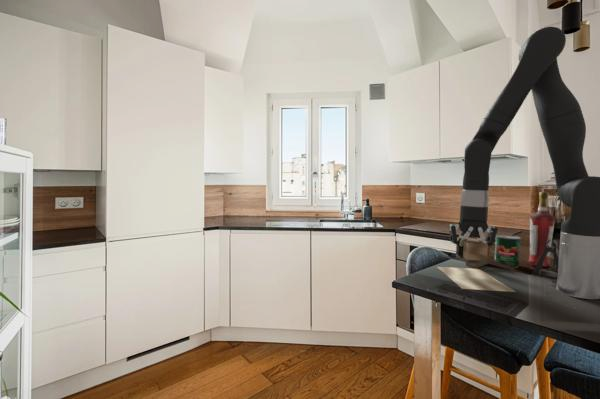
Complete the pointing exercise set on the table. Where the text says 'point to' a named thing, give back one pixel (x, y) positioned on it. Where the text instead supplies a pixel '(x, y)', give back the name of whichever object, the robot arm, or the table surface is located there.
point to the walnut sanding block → (474, 251)
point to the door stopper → (541, 260)
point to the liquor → (541, 231)
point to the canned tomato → (507, 250)
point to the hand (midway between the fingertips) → (470, 257)
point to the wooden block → (487, 253)
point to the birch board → (474, 279)
